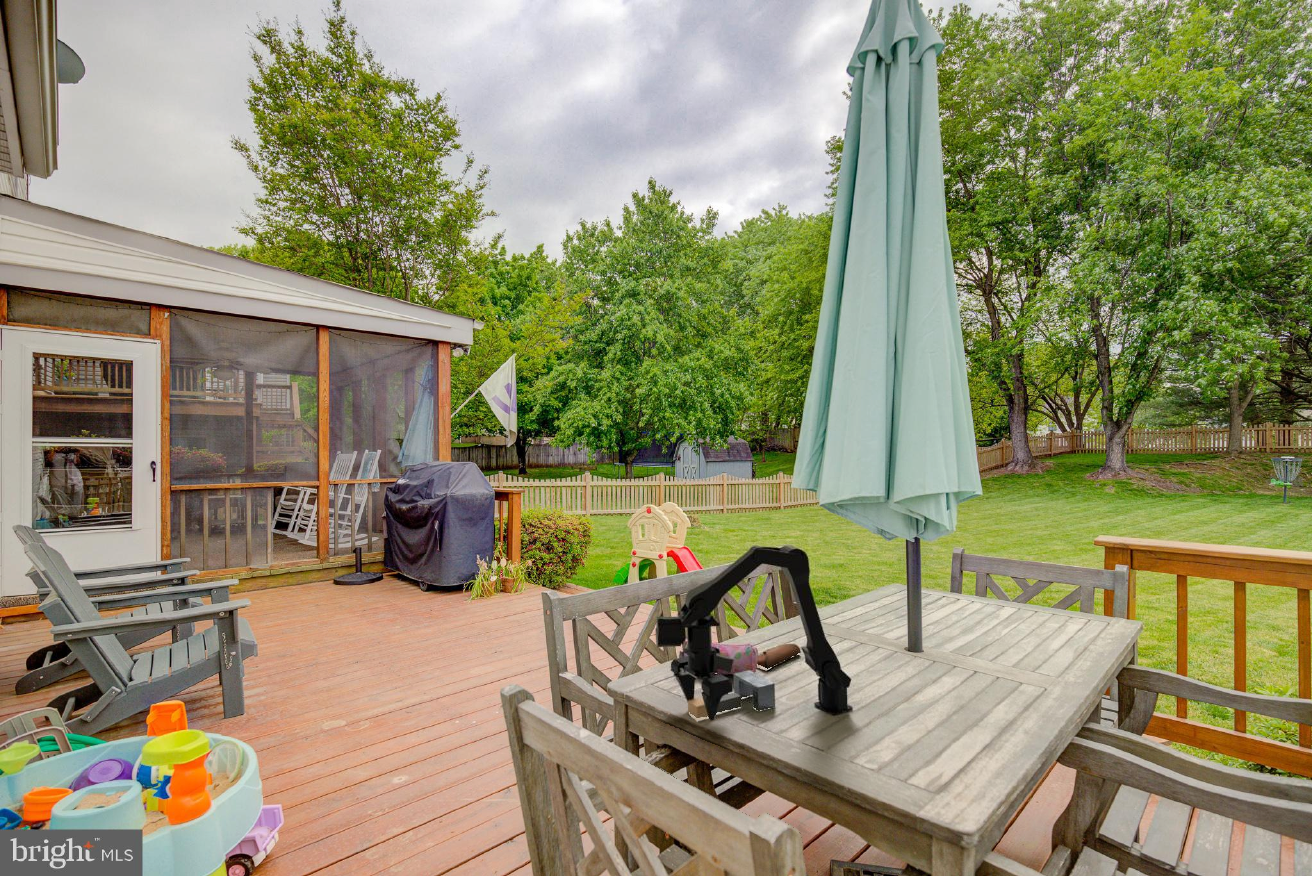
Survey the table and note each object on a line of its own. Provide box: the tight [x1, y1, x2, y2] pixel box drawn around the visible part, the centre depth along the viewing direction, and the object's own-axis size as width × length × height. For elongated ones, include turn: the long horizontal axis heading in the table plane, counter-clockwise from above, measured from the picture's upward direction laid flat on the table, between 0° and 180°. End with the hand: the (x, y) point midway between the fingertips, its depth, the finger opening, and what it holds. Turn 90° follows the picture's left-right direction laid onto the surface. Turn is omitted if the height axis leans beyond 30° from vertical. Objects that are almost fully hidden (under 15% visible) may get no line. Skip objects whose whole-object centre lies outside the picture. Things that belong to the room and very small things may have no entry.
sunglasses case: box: [757, 643, 802, 669], centre depth 167 cm, size 18×7×7 cm, turn 135°
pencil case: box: [678, 638, 759, 676], centre depth 158 cm, size 21×9×9 cm, turn 67°
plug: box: [687, 692, 742, 718], centre depth 133 cm, size 4×13×4 cm, turn 117°
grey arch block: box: [733, 670, 776, 712], centre depth 138 cm, size 10×5×6 cm, turn 27°
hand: (701, 712), depth 131 cm, fingers open, 9 cm apart
